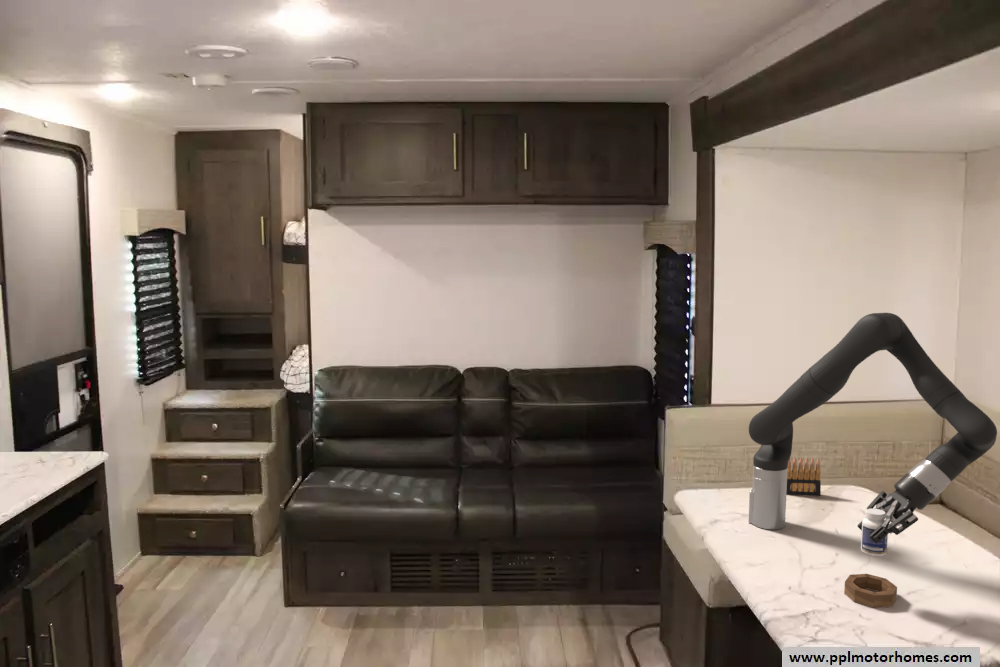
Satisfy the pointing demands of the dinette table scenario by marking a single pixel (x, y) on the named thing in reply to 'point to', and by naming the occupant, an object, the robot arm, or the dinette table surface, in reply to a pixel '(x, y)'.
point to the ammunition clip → (804, 478)
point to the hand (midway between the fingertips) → (866, 534)
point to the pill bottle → (868, 527)
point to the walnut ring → (858, 594)
